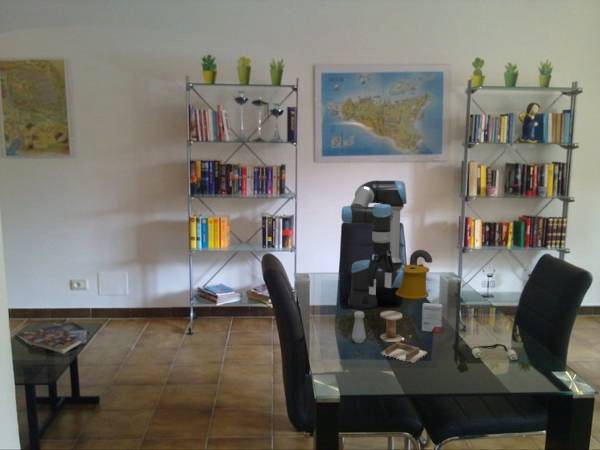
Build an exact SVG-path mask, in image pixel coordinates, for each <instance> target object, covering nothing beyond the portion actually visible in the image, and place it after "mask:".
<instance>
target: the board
mask: <svg viewBox="0 0 600 450" xmlns="http://www.w3.org/2000/svg"><path fill="white" fill-rule="evenodd" d="M381 354H382V355H381ZM426 354H427V355H428V351H426V350H422V349H420V347H417V346H413V345H409V344H406V343H401V342H396V343H392V345H390V346H388V347H387V348H385V349H384V350H383V351H381V352H380V355H381V356H384V355H385V356H384V357H387V356H389V357H388V358H391V357H393V358H392V359H394V358H396V359H395V360H398V359H399V360H398V361H401V360H402V361H401V362H405V361H407V362H406V363H408V362H411V363H410V364H412V363H414V362H415V363H417V362H418V361H420V360H421V359H422V358H423V356H424V357H425V356H426ZM420 358H421V359H420ZM419 359H420V360H419ZM417 360H418V361H417ZM416 361H417V362H416ZM415 363H414V364H415Z"/></svg>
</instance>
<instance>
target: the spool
mask: <svg viewBox="0 0 600 450" xmlns="http://www.w3.org/2000/svg"><path fill="white" fill-rule="evenodd" d="M403 265H404V266H405V268H404V275H403V280H402V285H401V286H400V287H397V288H398V289H397V290H396V291H395V295H396V296H398V297H400V298H403V299H413V300H414V299H415V300H417V299H418V300H419V299H425V298H428V297H429V292H428V291H427V273H428V272H430V268H429V267H428V266H424V265H423V266H419V265H420V264H417V265H410V264H403Z"/></svg>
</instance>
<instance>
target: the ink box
mask: <svg viewBox="0 0 600 450" xmlns="http://www.w3.org/2000/svg"><path fill="white" fill-rule="evenodd" d="M421 310H422V311H421V331H422V332H430V333H431V332H432V333H442V331H443V303H431V302H430V303H428V302H423V304H422V308H421Z"/></svg>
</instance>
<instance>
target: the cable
mask: <svg viewBox="0 0 600 450" xmlns="http://www.w3.org/2000/svg"><path fill="white" fill-rule="evenodd" d="M497 346H499V347H503V348H504V351H505V352H506V355H507V356H508V358H509V360H510V361H511V360H512V361H513V360H514V361H517V360H518V358H519V357H518V354H517V352H516V350H514V349H509V350H508V349H507V346H506V345H505V344H501V343H500V344H499V343H495V344H493V345H478V346H475V347H472V350H471V354H472V355H473V357H474V358H475V359H482V358H483V353H482V351H481V350H480V349H479V348H483V349H485V348H486V349H487V348H495V347H497Z"/></svg>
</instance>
